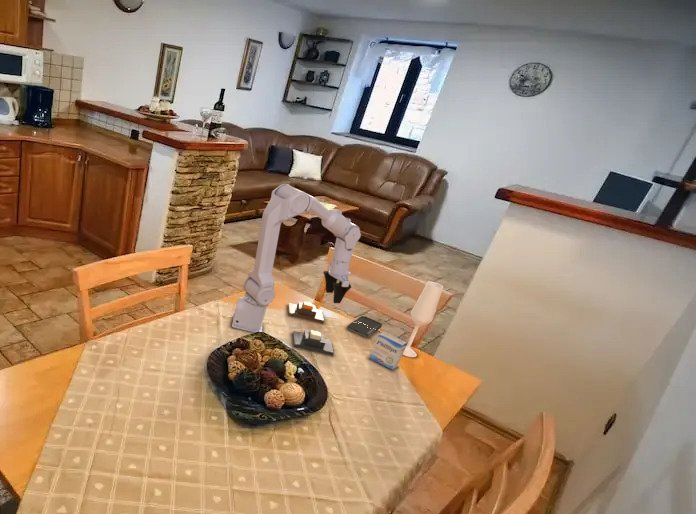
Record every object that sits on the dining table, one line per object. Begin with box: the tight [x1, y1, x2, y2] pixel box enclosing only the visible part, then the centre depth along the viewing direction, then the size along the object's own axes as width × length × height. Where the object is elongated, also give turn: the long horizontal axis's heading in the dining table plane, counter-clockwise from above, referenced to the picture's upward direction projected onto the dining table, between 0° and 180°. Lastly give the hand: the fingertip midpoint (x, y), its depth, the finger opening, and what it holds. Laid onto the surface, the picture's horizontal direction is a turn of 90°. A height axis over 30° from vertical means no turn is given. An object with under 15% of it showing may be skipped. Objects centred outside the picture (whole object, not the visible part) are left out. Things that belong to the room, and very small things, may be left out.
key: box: [309, 329, 322, 340], centre depth 154 cm, size 3×3×2 cm
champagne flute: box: [402, 280, 444, 358], centre depth 158 cm, size 7×7×24 cm
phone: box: [346, 315, 383, 338], centre depth 175 cm, size 8×1×15 cm
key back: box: [302, 300, 314, 310], centre depth 174 cm, size 3×3×2 cm
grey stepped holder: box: [292, 329, 335, 357], centre depth 155 cm, size 12×9×3 cm
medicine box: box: [368, 331, 408, 371], centre depth 152 cm, size 8×4×9 cm, turn 47°
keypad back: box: [287, 301, 325, 324], centre depth 175 cm, size 12×9×3 cm
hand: (332, 297), depth 167 cm, fingers open, 7 cm apart
